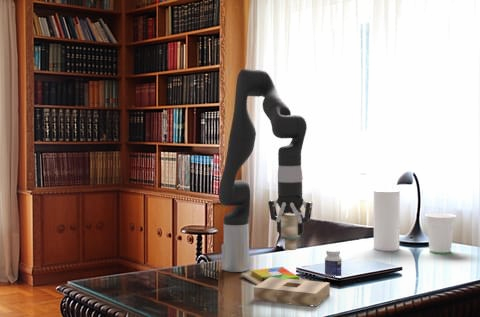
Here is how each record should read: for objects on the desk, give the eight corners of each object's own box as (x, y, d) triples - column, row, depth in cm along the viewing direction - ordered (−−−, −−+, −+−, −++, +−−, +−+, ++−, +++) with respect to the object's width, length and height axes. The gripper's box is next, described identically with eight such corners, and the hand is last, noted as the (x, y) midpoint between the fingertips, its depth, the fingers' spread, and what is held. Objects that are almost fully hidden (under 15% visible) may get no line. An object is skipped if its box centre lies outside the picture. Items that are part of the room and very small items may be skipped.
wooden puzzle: (264, 291, 212) (264, 280, 212) (239, 278, 229) (239, 268, 228) (310, 284, 219) (310, 274, 219) (282, 273, 236) (282, 263, 236)
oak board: (253, 299, 199) (253, 287, 199) (270, 289, 212) (270, 276, 212) (315, 307, 191) (315, 293, 191) (329, 295, 204) (329, 282, 204)
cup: (459, 250, 271) (459, 214, 270) (451, 256, 260) (451, 218, 259) (429, 247, 277) (429, 212, 276) (420, 252, 267) (420, 216, 266)
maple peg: (278, 250, 199) (277, 216, 198) (285, 246, 204) (284, 213, 204) (296, 251, 196) (295, 217, 196) (302, 247, 202) (302, 214, 201)
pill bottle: (341, 281, 222) (340, 252, 221) (324, 280, 223) (324, 251, 222) (341, 277, 227) (341, 249, 227) (325, 276, 228) (325, 248, 228)
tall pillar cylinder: (401, 250, 272) (402, 191, 270) (376, 251, 272) (376, 191, 270) (396, 245, 282) (396, 188, 281) (371, 246, 282) (371, 189, 281)
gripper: (263, 180, 199) (264, 235, 200) (308, 181, 193) (308, 237, 194) (272, 178, 206) (273, 231, 207) (316, 179, 200) (316, 233, 201)
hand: (290, 234), depth 200 cm, fingers closed on maple peg, 5 cm apart
